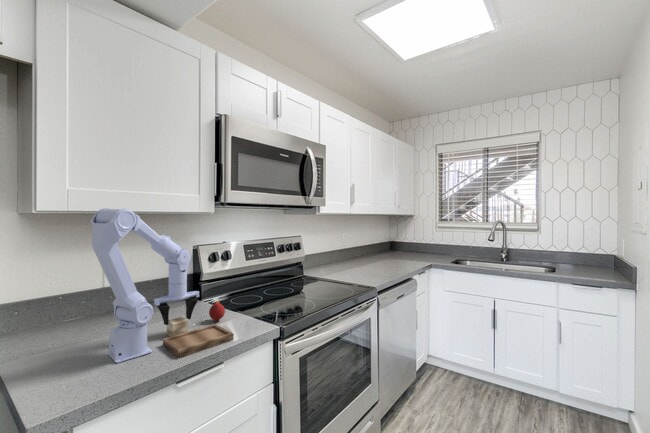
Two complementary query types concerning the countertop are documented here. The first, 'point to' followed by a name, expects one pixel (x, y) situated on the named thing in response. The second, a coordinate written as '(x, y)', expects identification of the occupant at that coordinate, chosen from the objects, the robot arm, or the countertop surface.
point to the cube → (177, 326)
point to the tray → (197, 340)
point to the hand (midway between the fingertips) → (177, 321)
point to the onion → (217, 311)
